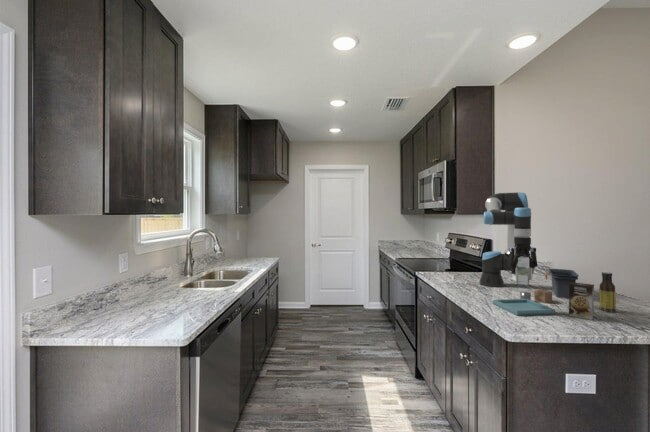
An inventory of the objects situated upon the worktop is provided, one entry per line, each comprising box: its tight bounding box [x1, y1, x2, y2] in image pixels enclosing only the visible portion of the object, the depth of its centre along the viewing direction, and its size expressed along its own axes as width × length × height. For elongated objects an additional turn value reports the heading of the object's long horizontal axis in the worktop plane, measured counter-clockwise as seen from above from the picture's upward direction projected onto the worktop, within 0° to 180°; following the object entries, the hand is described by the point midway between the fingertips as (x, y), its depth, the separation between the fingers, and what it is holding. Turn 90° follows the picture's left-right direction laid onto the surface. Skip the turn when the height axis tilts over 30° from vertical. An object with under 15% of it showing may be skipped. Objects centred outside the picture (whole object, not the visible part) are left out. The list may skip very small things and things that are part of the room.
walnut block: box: [534, 289, 553, 304], centre depth 183 cm, size 6×6×6 cm
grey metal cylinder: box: [519, 291, 532, 300], centre depth 183 cm, size 5×5×5 cm
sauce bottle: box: [598, 271, 617, 313], centre depth 164 cm, size 6×6×20 cm
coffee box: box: [568, 281, 595, 321], centre depth 156 cm, size 9×6×16 cm
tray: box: [492, 298, 556, 317], centre depth 168 cm, size 20×20×2 cm
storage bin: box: [544, 268, 580, 299], centre depth 196 cm, size 21×16×14 cm
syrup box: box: [515, 256, 530, 286], centre depth 168 cm, size 6×6×14 cm
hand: (522, 280), depth 168 cm, fingers closed on syrup box, 8 cm apart
